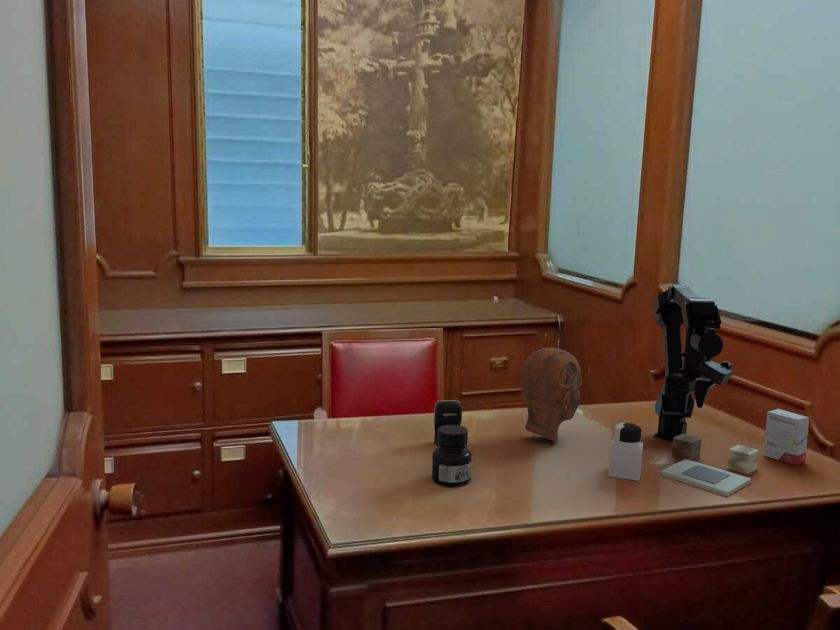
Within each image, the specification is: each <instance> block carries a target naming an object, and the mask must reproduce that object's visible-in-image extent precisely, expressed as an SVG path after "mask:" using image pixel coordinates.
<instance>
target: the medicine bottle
mask: <svg viewBox="0 0 840 630" xmlns="http://www.w3.org/2000/svg"><path fill="white" fill-rule="evenodd" d="M613 430H614V432H613V434H614V435H613V439H612V440H611V445H610V447H609V455H608V459H609V460H608V469H607V477H609V478H615V479H621V480H622V479H623V480H629V481H635V482H639V481H640V479H641V473H642V461H643V453H644V452H643V451H644V442H641V438H642V428H641V427H640V425H637V424H635V423H631V422H621V423H617V424H615V426H614V429H613Z"/></svg>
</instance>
